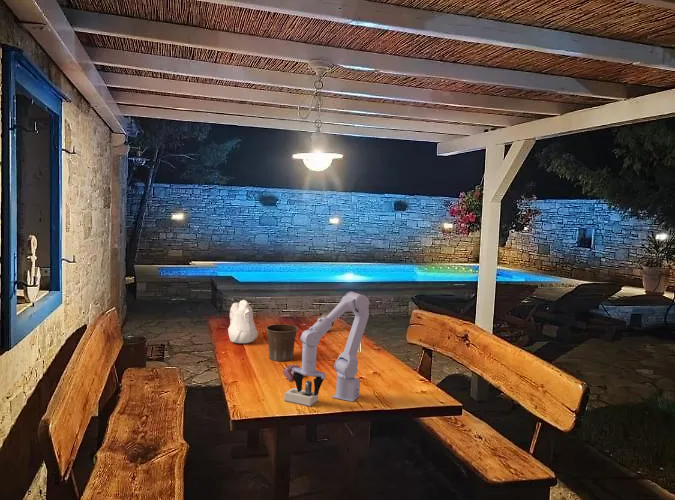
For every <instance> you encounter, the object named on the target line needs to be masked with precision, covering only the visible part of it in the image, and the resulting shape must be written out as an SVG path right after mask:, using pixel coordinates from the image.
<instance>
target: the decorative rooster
mask: <svg viewBox="0 0 675 500" xmlns="http://www.w3.org/2000/svg"><path fill="white" fill-rule="evenodd" d="M253 312H254V311H253V309H252V306H251V305H250V303H249V302H248V301H247V300H246V299H242V300H240V301H239V302H234V303H232V304H231V307H230V309H229V321H230V322H229V326H228V328H227V331H228V336H229V337H228V338H229V340H230V342H232V343H235V344H249V343H252V342H254V341H255V340H256V339H257V338H258V336H259V333H258V330H257V328H256V325H255V321H254V313H253Z"/></svg>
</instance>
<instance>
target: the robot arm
mask: <svg viewBox="0 0 675 500" xmlns="http://www.w3.org/2000/svg"><path fill="white" fill-rule="evenodd" d="M369 306H370V300H369V298H368V297H367V296H366V295H365V294H360V293H357V292H355V291H348V292H347V293H346V294H345V295H344V296H343V297H342V298H341V299H340V301H339V303H338V304H337V305H336V306H334V307H333V309H331V311H330V312H329V313H327V314H328V315H327V317H321V318H319V317H318V318H319V319H318V318H317V320H318V321H316V322H315V323H314V324H313V325H312V326H309V328H308V329H306V330H304V331H302V333H301V335H300V337H299V339H300V341H301V342H302V352H301V357H302V358H301V367H300V368H296V367H294V368H292V372H291V373H292V375H293V373H294V375H293V377H292V379H293V380H294V382H295V386H296V388H297V390H298V392H300V391H302V390H303V381H304V380H303V378H304V377H303V375H305V376H308V377H314V378H313V381H312V382H313V385H314V386H313V387H314V388H313V389H314V391H313V392H314V395H315V396H316V395H318V396H319V393H320V388H321V386H322V384H323V382H324V380H325V379H326V378H327V373H326V372H322V371H319V370H317V355H318V354H317V353H318V352H317V351H318V349H317V347H318V345H319V344H320V342H321V341H320V340H321V339H322V337H323V336H324V335H326V333H328V332H327V331H328V330H329V331H330V329H331V328H332V327H333V326H332V323H333V322H334V323H335V321H336V320H337V319H339V318H340V317H341V316H342V315H343V314H344V313H346V312H347V311H348V312H350V311H352V313H353V314H354V319H353V322H352V325H351V328H350V331H349V334H348V338H347V339H346V343H345V346H344V349H343V351H342V352H341V353H340V354H339V355H338V358H336V360H335V362H334V364H333V365H334V367H333V368H334V370H335V371H336V388H335V394H334V395H332V397H331V398H333V399H338V400H341V401H347V402H351V403H353V402H354V401H355V400H356V399H358V398H359V397H361V395H360V388H361V381H360V378H359V377H356V376H357V374H358V370H359V369H358V364H359V361H358V357H357V354H358V351H359V348H360V345H361V342H362V338H363V335H364V333H365V330H366V326H367V323H368V320H369V318H370V317H369V316H370V311H369V310H370V309H369Z"/></svg>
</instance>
